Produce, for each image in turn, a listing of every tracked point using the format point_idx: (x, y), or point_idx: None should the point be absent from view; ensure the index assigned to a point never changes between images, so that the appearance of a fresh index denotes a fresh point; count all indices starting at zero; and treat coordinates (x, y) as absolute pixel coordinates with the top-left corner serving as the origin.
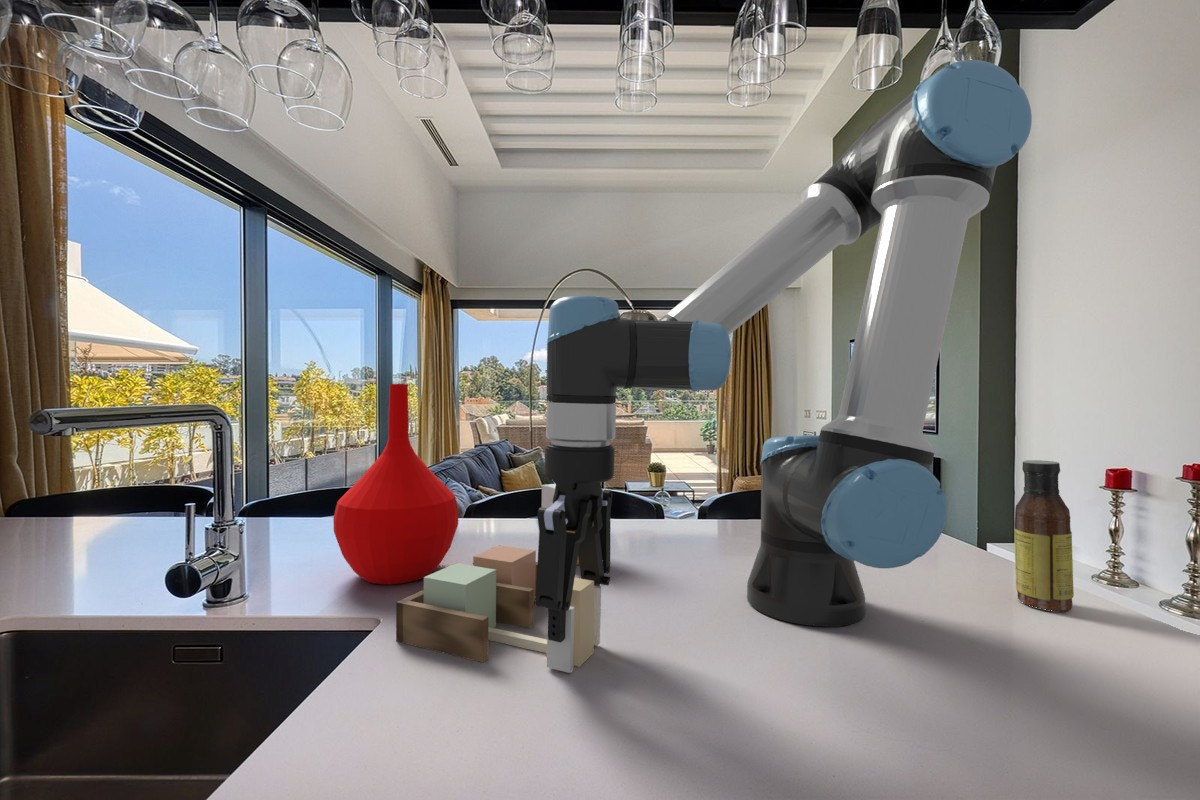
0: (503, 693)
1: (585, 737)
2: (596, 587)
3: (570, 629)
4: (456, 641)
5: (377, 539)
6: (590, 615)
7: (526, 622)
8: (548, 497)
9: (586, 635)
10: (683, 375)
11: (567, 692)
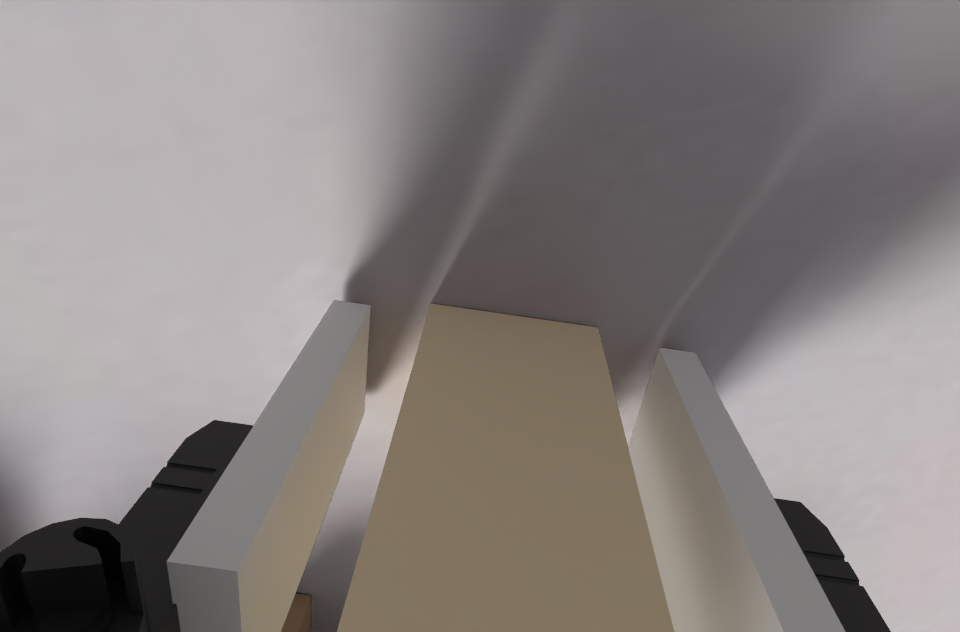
0: (866, 525)
1: None
2: (220, 592)
3: (783, 518)
4: None
5: None
6: (453, 454)
7: (303, 624)
8: None
9: (517, 390)
10: None
11: (851, 313)
